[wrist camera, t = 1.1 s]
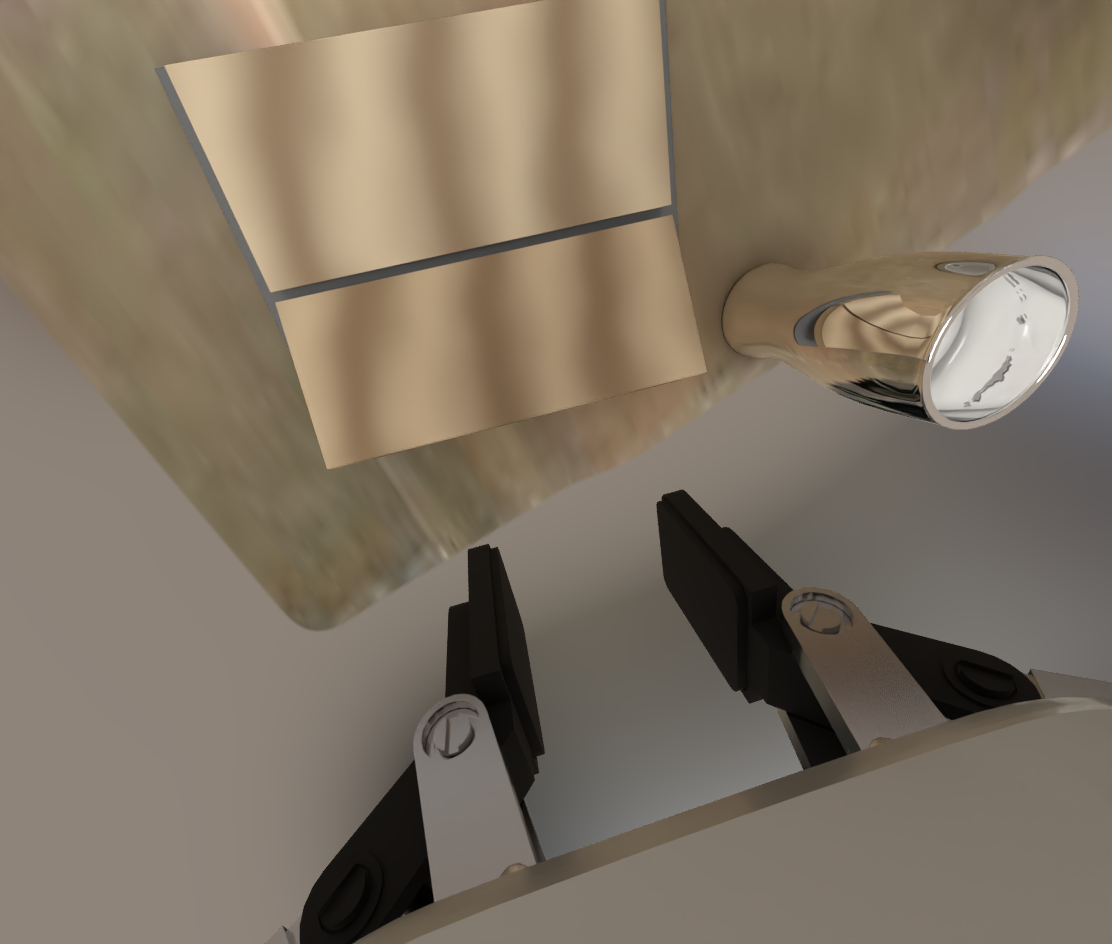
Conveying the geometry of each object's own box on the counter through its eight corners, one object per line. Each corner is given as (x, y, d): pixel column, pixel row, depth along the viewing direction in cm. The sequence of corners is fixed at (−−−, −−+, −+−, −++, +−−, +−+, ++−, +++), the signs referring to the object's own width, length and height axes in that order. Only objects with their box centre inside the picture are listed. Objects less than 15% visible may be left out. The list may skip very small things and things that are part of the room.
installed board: (645, -2, 21) (658, -20, 20) (660, 207, 25) (671, 204, 24) (184, 78, 19) (164, 65, 18) (281, 290, 24) (270, 292, 22)
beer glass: (697, 305, 29) (898, 340, 16) (784, 231, 28) (1078, 201, 15) (742, 382, 32) (941, 466, 19) (821, 318, 31) (1092, 358, 18)
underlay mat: (660, -15, 22) (664, -19, 21) (683, 374, 31) (685, 376, 30) (159, 72, 19) (154, 68, 19) (344, 461, 29) (343, 463, 28)
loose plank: (662, 227, 26) (672, 214, 24) (695, 375, 27) (706, 371, 25) (289, 311, 24) (274, 302, 22) (338, 467, 25) (327, 469, 23)
